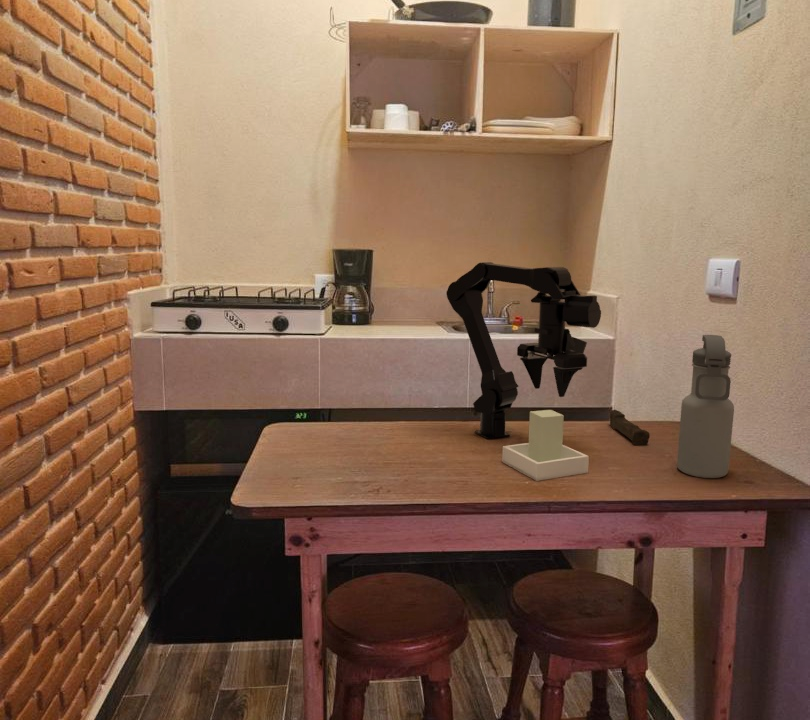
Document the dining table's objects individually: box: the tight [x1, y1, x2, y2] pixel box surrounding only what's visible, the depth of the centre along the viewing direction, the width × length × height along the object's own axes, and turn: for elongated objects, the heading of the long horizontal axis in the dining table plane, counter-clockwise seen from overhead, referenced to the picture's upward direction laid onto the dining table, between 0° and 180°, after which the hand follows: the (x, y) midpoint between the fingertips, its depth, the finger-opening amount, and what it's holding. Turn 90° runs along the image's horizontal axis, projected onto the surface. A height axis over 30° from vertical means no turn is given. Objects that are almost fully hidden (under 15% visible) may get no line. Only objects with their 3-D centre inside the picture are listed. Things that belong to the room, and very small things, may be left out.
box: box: [501, 442, 590, 482], centre depth 140 cm, size 13×13×4 cm
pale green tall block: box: [528, 409, 565, 462], centre depth 139 cm, size 5×5×11 cm
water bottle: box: [676, 334, 735, 479], centre depth 135 cm, size 10×10×28 cm
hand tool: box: [609, 409, 651, 447], centre depth 164 cm, size 19×4×5 cm, turn 2°
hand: (549, 392), depth 151 cm, fingers open, 9 cm apart
